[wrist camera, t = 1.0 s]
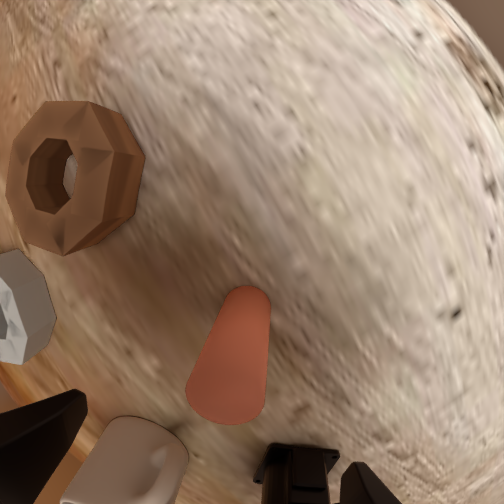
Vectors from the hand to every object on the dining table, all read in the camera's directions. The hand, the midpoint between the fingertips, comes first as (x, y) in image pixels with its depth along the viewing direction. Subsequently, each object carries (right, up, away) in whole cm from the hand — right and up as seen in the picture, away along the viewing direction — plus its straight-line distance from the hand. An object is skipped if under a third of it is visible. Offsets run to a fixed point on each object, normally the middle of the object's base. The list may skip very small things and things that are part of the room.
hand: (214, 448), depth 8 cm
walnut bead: (-10, +11, +10) cm, 19 cm away
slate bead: (-20, +2, +13) cm, 24 cm away
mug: (-8, -11, +15) cm, 21 cm away
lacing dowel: (+1, +2, +11) cm, 12 cm away
